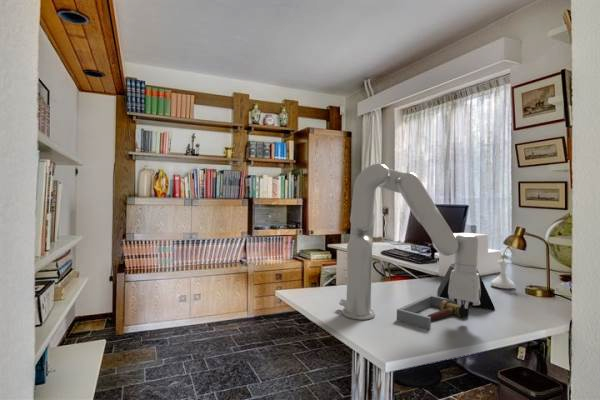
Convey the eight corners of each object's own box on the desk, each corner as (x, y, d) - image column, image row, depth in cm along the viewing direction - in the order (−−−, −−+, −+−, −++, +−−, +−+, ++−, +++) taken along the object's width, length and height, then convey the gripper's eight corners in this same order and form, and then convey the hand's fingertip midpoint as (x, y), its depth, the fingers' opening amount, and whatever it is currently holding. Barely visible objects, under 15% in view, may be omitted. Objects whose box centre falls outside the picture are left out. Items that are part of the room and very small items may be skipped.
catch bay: (396, 320, 131) (396, 309, 130) (429, 303, 151) (429, 294, 151) (428, 329, 122) (429, 318, 122) (459, 310, 143) (459, 301, 142)
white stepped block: (474, 267, 235) (475, 231, 235) (502, 272, 220) (503, 233, 219) (430, 273, 212) (431, 233, 212) (458, 280, 196) (459, 237, 196)
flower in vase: (510, 291, 174) (511, 242, 173) (486, 286, 183) (487, 239, 182) (520, 287, 182) (521, 240, 182) (496, 283, 191) (497, 238, 190)
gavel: (435, 318, 125) (413, 310, 133) (435, 331, 125) (413, 322, 133) (469, 305, 136) (446, 299, 144) (469, 317, 136) (446, 309, 144)
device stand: (437, 303, 153) (437, 269, 153) (437, 291, 174) (438, 261, 174) (494, 310, 144) (495, 275, 144) (488, 296, 165) (489, 265, 165)
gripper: (440, 266, 130) (439, 314, 130) (484, 273, 119) (482, 326, 119) (448, 263, 135) (446, 310, 135) (490, 270, 124) (488, 321, 125)
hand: (463, 317), depth 127 cm, fingers closed
